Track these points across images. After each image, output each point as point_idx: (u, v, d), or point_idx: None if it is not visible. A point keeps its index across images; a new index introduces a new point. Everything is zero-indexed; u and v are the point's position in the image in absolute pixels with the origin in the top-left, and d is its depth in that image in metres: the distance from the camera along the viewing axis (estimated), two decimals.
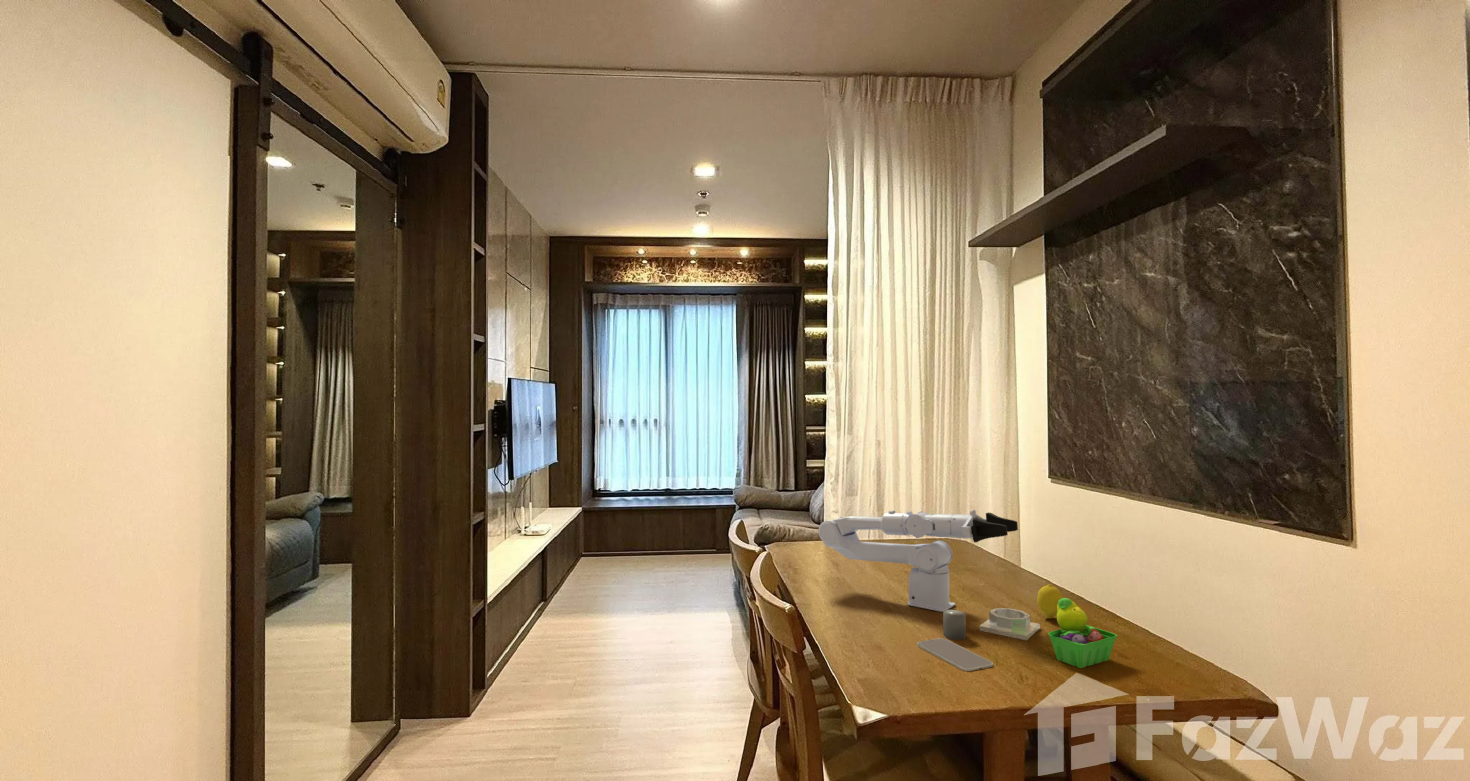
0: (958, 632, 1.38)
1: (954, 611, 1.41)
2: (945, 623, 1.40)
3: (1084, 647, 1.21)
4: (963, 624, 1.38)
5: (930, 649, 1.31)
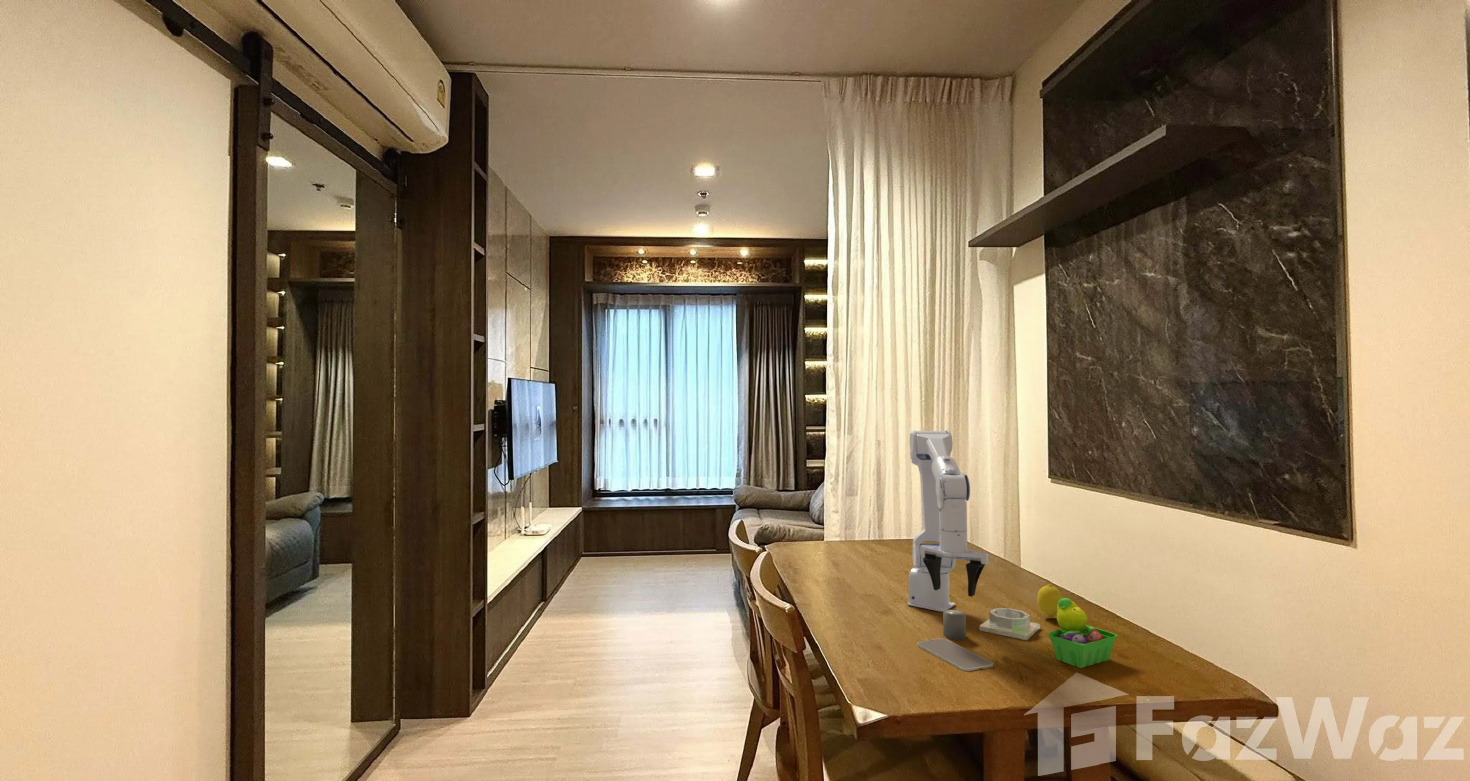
0: (958, 632, 1.38)
1: (954, 611, 1.41)
2: (945, 623, 1.40)
3: (1084, 647, 1.21)
4: (963, 624, 1.38)
5: (930, 649, 1.31)
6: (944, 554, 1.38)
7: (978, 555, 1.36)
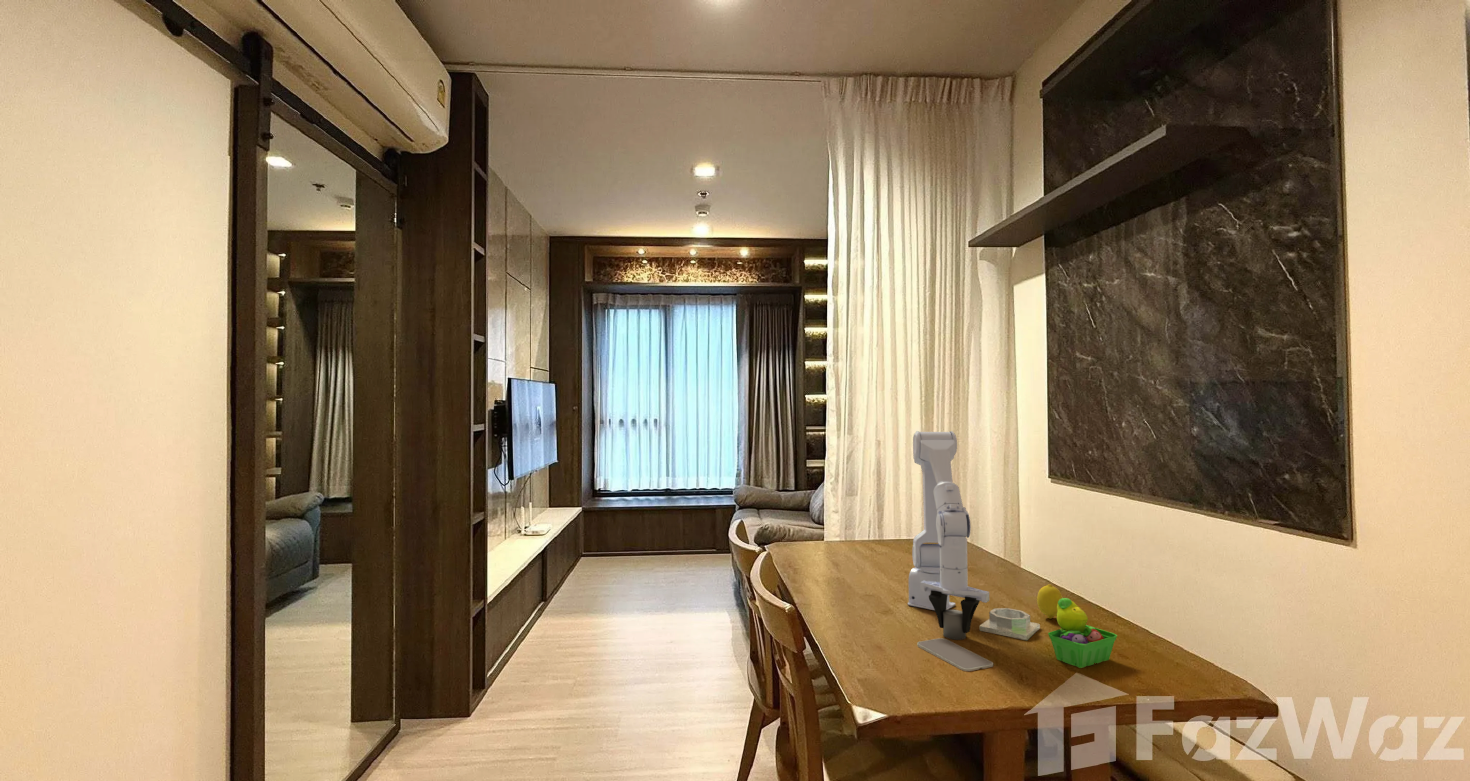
0: (958, 632, 1.38)
1: (954, 611, 1.41)
2: (945, 623, 1.40)
3: (1084, 647, 1.21)
4: None
5: (930, 649, 1.31)
6: (944, 592, 1.38)
7: (978, 593, 1.36)
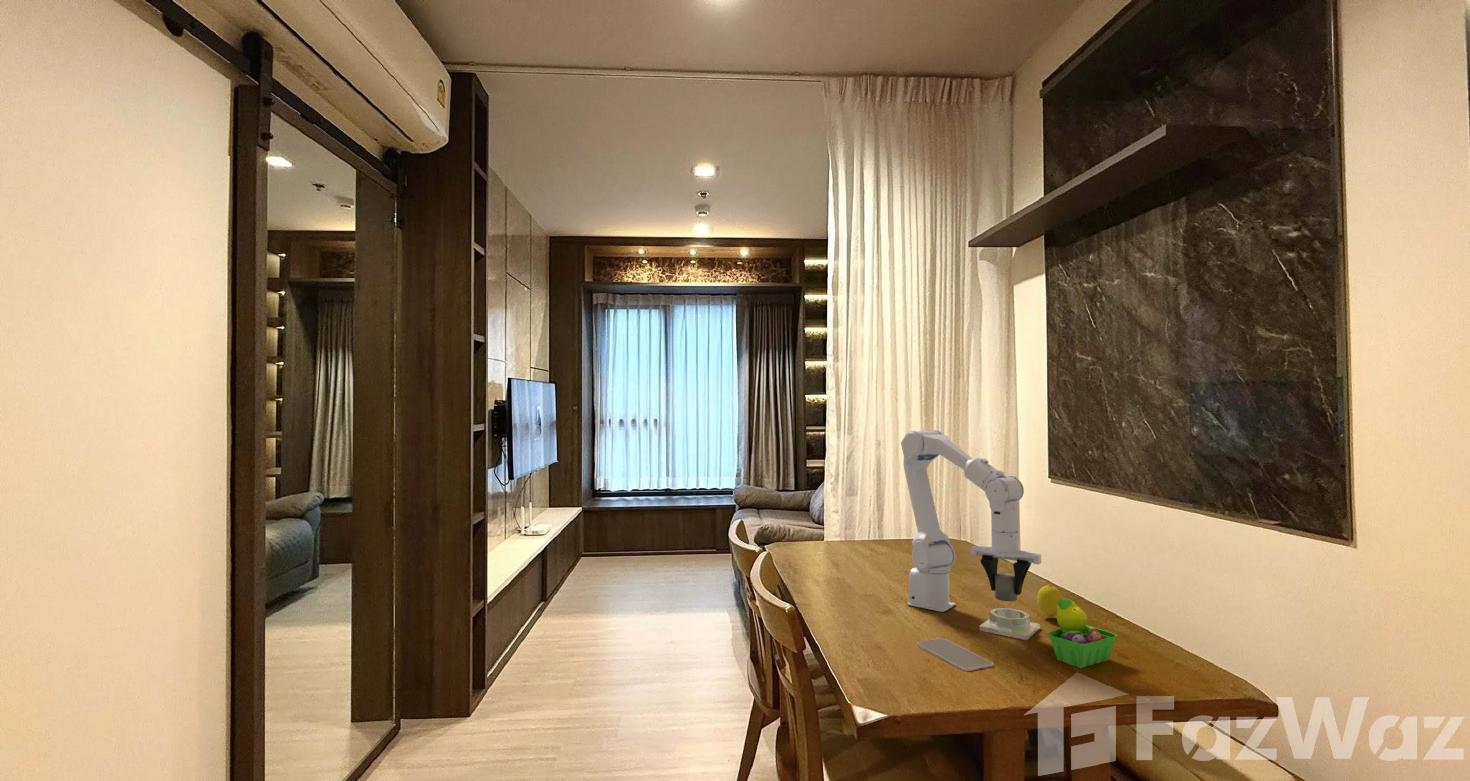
0: (1010, 594, 1.42)
1: (1005, 574, 1.45)
2: (997, 585, 1.44)
3: (1084, 647, 1.21)
4: None
5: (930, 649, 1.31)
6: (997, 555, 1.42)
7: (1031, 556, 1.40)
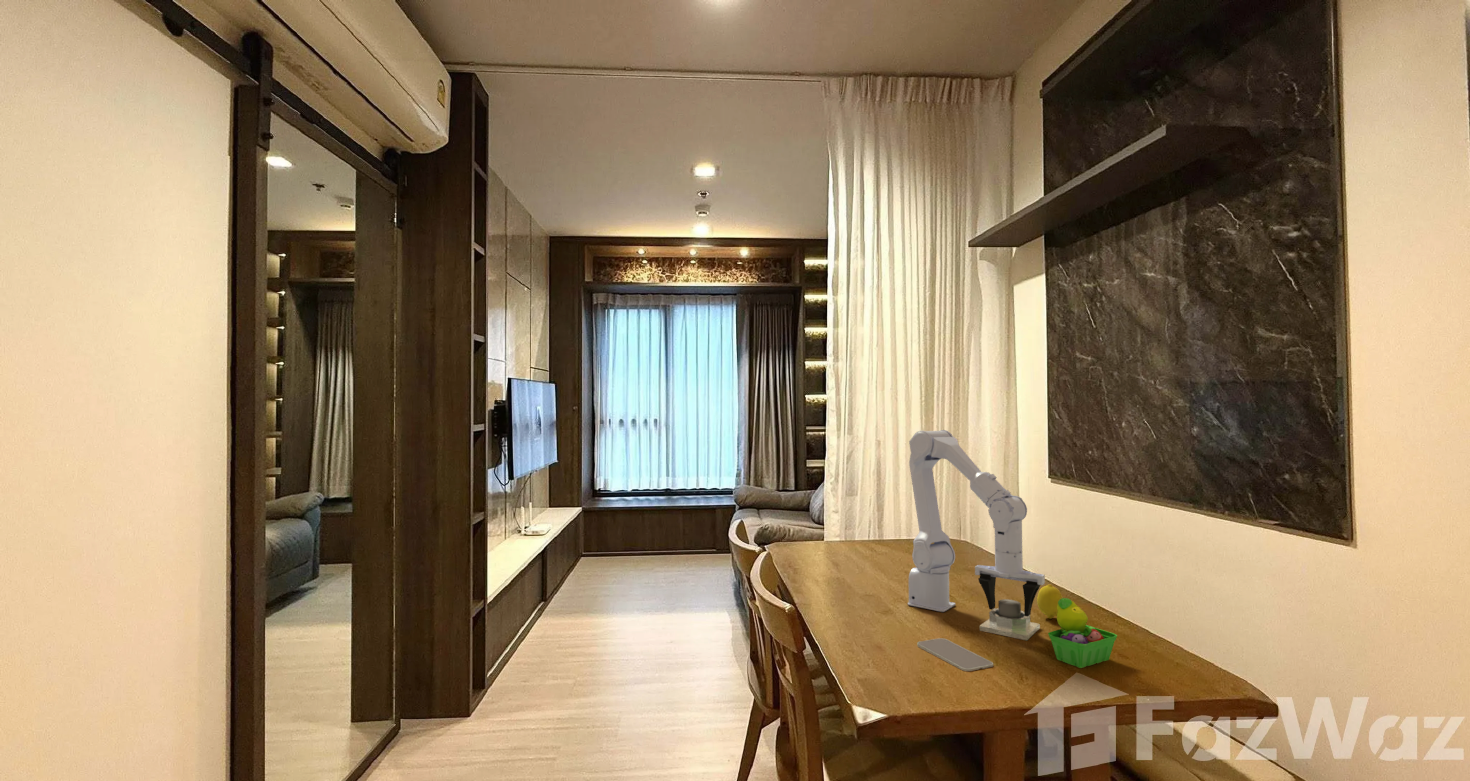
0: None
1: (1009, 601, 1.45)
2: (1001, 612, 1.44)
3: (1084, 647, 1.21)
4: (1019, 613, 1.43)
5: (930, 649, 1.31)
6: (1001, 575, 1.42)
7: (1035, 576, 1.40)
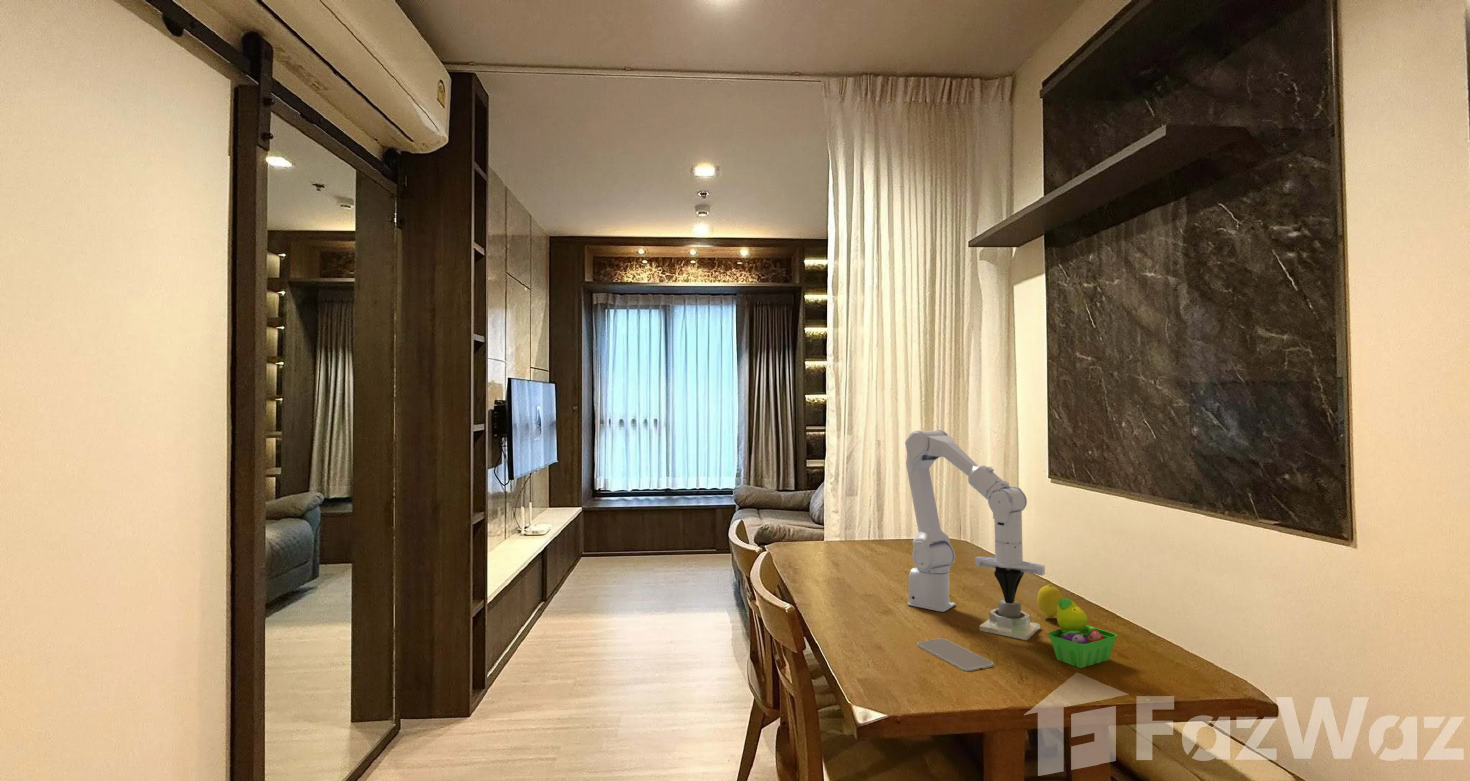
0: None
1: None
2: (1001, 612, 1.44)
3: (1084, 647, 1.21)
4: (1019, 613, 1.42)
5: (930, 649, 1.31)
6: (1001, 566, 1.42)
7: (1035, 567, 1.40)
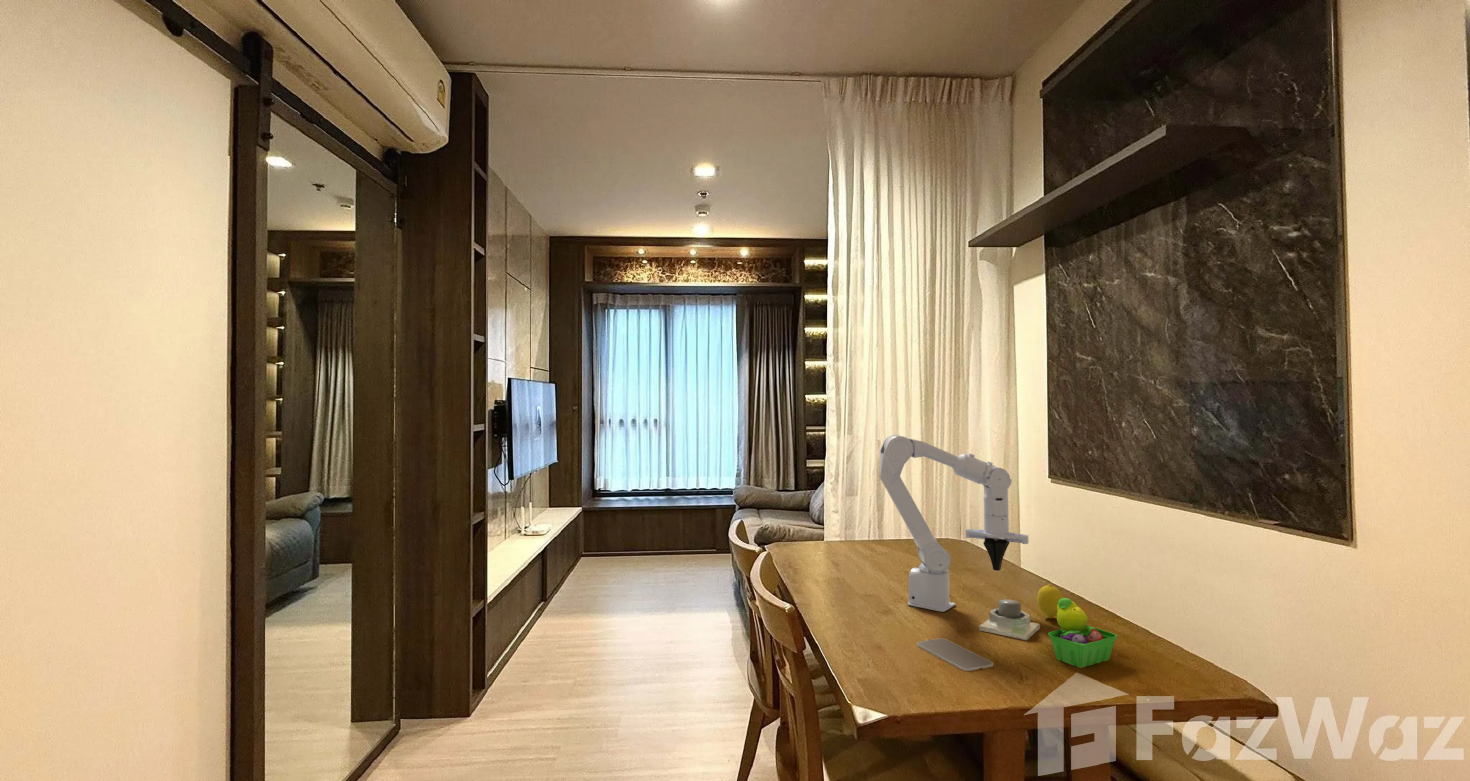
0: None
1: (1009, 601, 1.45)
2: (1001, 612, 1.44)
3: (1084, 647, 1.21)
4: (1019, 613, 1.42)
5: (930, 649, 1.31)
6: (990, 536, 1.58)
7: (1020, 536, 1.57)
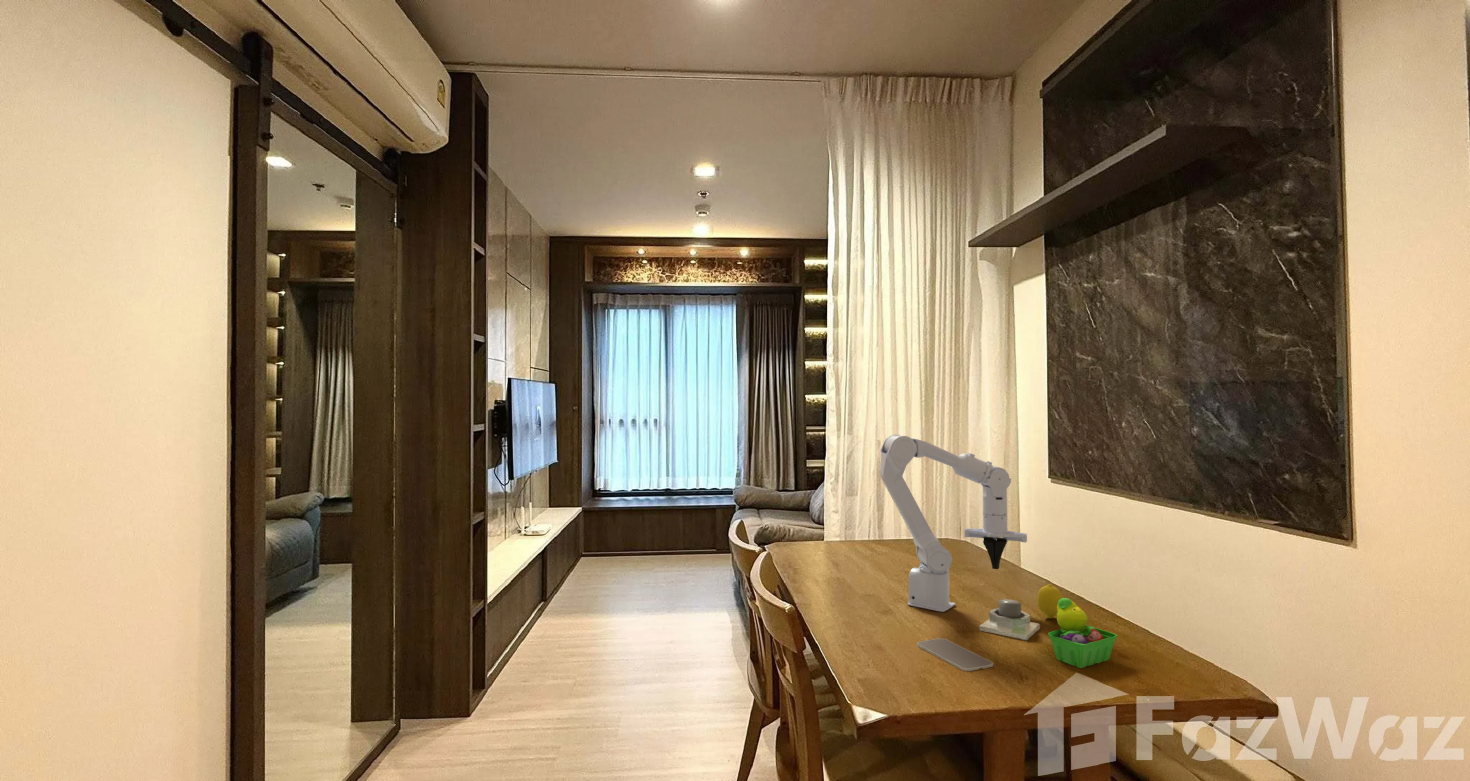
0: None
1: (1010, 600, 1.45)
2: (1001, 612, 1.44)
3: (1084, 647, 1.21)
4: (1019, 613, 1.42)
5: (930, 649, 1.31)
6: (990, 535, 1.59)
7: (1019, 535, 1.58)
